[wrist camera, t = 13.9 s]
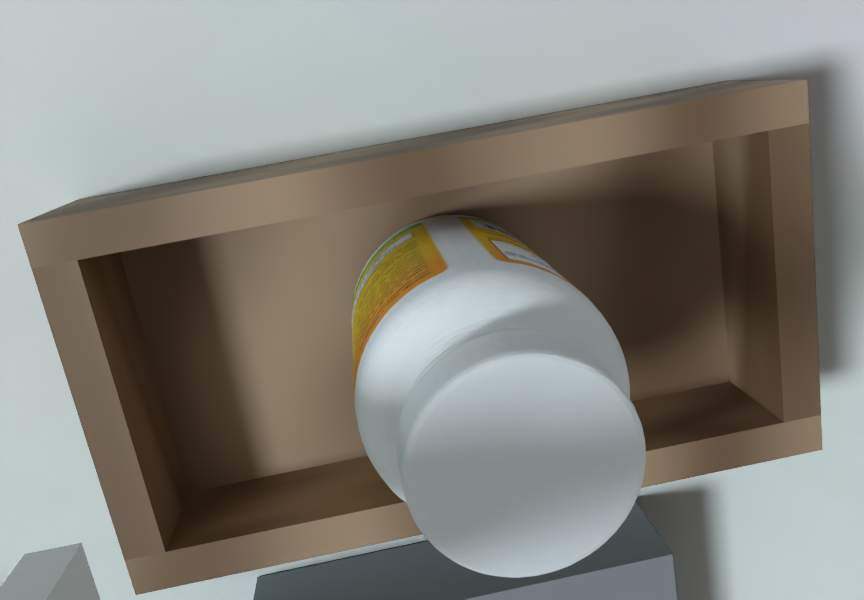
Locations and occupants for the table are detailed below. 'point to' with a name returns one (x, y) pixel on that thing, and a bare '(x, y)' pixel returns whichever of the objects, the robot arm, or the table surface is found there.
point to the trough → (334, 291)
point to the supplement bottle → (493, 398)
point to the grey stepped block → (485, 594)
